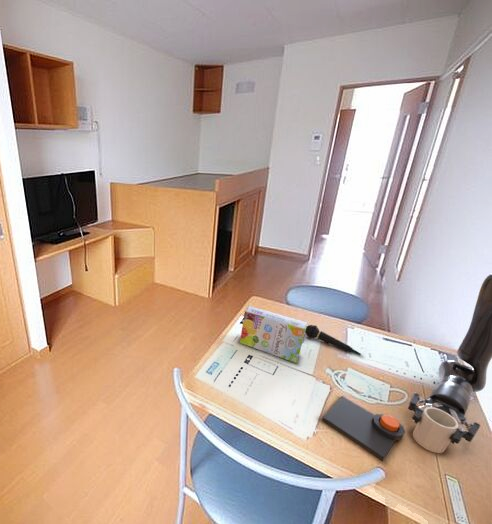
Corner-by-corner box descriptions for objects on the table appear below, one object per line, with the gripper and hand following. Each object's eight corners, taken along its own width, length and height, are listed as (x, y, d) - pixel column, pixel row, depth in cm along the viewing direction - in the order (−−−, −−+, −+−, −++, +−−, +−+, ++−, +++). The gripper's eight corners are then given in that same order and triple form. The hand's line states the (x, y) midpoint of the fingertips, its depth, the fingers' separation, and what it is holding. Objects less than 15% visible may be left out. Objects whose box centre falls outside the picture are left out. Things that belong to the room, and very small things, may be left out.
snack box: (299, 355, 115) (308, 321, 109) (296, 364, 110) (305, 329, 104) (243, 336, 126) (248, 304, 120) (238, 343, 121) (244, 310, 115)
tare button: (399, 426, 84) (401, 422, 83) (394, 434, 81) (396, 429, 81) (382, 416, 87) (384, 412, 86) (377, 424, 84) (379, 419, 84)
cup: (447, 443, 82) (461, 419, 78) (441, 458, 78) (455, 433, 75) (416, 426, 87) (428, 403, 83) (409, 439, 83) (421, 415, 80)
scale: (404, 434, 84) (408, 426, 83) (387, 464, 77) (390, 456, 76) (342, 397, 96) (344, 390, 95) (321, 420, 88) (324, 412, 87)
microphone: (357, 359, 117) (303, 333, 129) (364, 346, 116) (309, 321, 127) (356, 363, 113) (301, 335, 124) (364, 349, 112) (307, 323, 123)
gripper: (422, 375, 92) (405, 401, 83) (490, 406, 81) (479, 441, 72) (413, 394, 95) (396, 421, 86) (478, 426, 84) (466, 462, 75)
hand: (434, 430), depth 79 cm, fingers closed on cup, 6 cm apart
